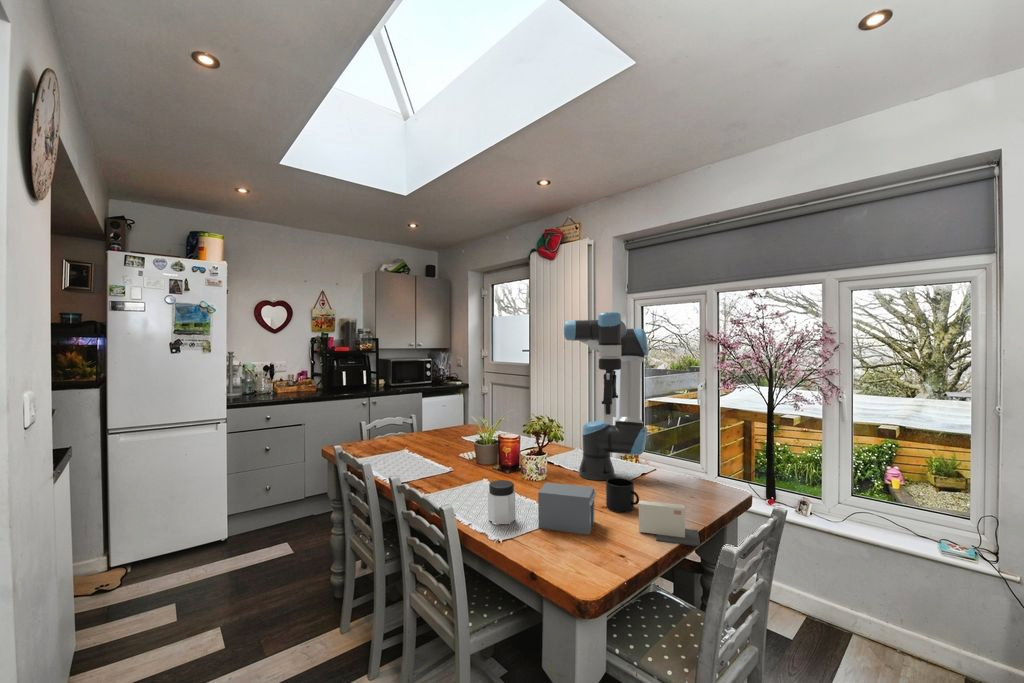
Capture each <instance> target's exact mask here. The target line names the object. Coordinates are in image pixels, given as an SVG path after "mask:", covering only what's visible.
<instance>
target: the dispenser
mask: <svg viewBox="0 0 1024 683" xmlns="http://www.w3.org/2000/svg"><path fill="white" fill-rule="evenodd" d="M537 494H538V496H537V497H538V503H537V504H538V505H537V506H538V511H537V512H538V517H537V518H538V529H544V530H552V531H558V532H559V531H560V532H563V533H565V532H566V533H572V534H578V535H579V534H580V535H587V536H588V535H591V532H592V526H594V524H595V498H596V496H597V491H596V490H595V487H594V486H585V485H577V484H576V485H575V484H566V483H565V484H564V483H555V482H545V483H544V485H543V486H542V487H541V488H540V489H539V491H538V492H537Z"/></svg>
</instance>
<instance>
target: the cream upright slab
mask: <svg viewBox="0 0 1024 683" xmlns="http://www.w3.org/2000/svg"><path fill="white" fill-rule="evenodd" d="M685 508H686V507H685V505H684V504H677V503H667V502H658V501H649V500H640V499H639V502H638V532H639V533H644V534H645V533H647V534H654V535H656V534H660V535H668V536H675V537H683V538H685V529H686V509H685Z"/></svg>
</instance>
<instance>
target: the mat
mask: <svg viewBox="0 0 1024 683" xmlns="http://www.w3.org/2000/svg"><path fill="white" fill-rule="evenodd" d="M655 540H656V542H660V543H661V542H662V543H663V542H664V543H670V544H676V543H679V545H684V546H690V547H691V546H692V547H700V548H701V545H702V544H701V541H700V535H699V531H698V529H690V528H685V538H683V537H675V536H668V535H660V534H655Z"/></svg>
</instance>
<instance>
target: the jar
mask: <svg viewBox="0 0 1024 683" xmlns="http://www.w3.org/2000/svg"><path fill="white" fill-rule="evenodd" d="M488 488H489V490H488V491H487V512H488V513H487V520H488V519H490V520H491V521H492V522H493V523H496V524H509V525H511V524H512V523H513V522H515V521H516V491H515V483H514V482H513V481H511V480H508V479H507V480H506V479H497V480H494V481H490V483H489V486H488ZM514 520H515V521H514ZM512 521H513V522H512ZM511 522H512V523H511ZM493 523H492V524H493ZM510 523H511V524H510Z"/></svg>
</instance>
